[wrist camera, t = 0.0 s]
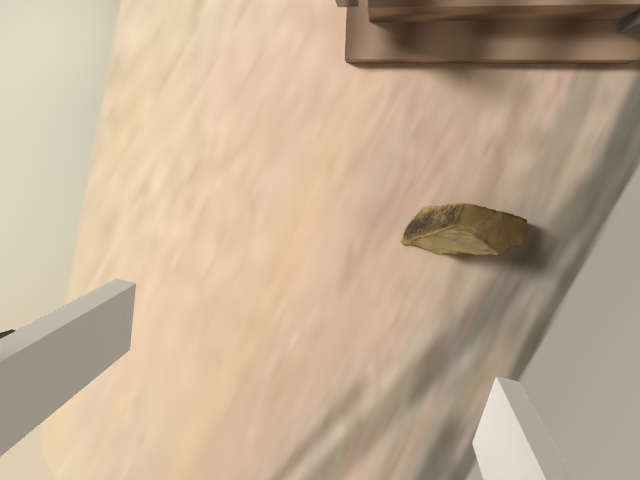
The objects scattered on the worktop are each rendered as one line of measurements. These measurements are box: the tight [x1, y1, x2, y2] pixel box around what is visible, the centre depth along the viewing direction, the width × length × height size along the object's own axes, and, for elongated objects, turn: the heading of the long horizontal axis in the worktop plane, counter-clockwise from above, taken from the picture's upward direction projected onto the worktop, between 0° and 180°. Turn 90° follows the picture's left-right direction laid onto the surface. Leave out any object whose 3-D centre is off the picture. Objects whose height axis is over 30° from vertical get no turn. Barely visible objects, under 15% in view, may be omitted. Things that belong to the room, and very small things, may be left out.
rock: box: [401, 203, 527, 255], centre depth 37 cm, size 11×9×10 cm
